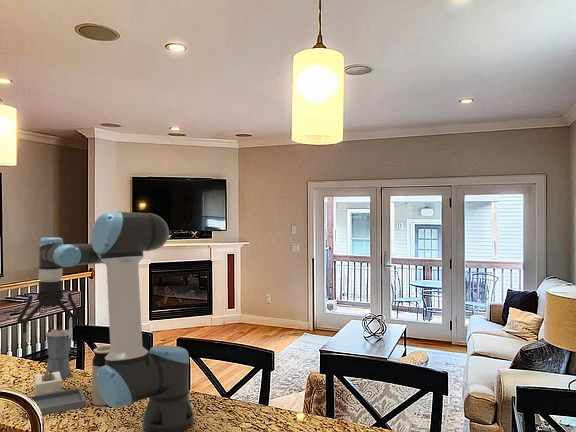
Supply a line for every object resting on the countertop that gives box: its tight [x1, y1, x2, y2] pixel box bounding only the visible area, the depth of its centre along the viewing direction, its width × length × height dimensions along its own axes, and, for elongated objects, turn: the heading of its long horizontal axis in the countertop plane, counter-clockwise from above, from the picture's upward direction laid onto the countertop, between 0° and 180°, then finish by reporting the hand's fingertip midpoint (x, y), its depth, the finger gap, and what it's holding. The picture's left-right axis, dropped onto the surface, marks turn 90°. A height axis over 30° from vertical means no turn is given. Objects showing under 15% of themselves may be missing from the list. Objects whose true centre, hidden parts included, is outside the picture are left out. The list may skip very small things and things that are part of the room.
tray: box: [22, 387, 87, 419], centre depth 149 cm, size 13×18×2 cm
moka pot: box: [45, 325, 74, 380], centre depth 176 cm, size 10×15×20 cm, turn 60°
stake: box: [43, 371, 52, 382], centre depth 160 cm, size 3×3×7 cm
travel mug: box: [91, 345, 110, 407], centre depth 152 cm, size 8×8×18 cm
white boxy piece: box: [34, 372, 63, 396], centre depth 159 cm, size 12×8×5 cm, turn 32°
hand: (49, 339), depth 160 cm, fingers open, 13 cm apart
